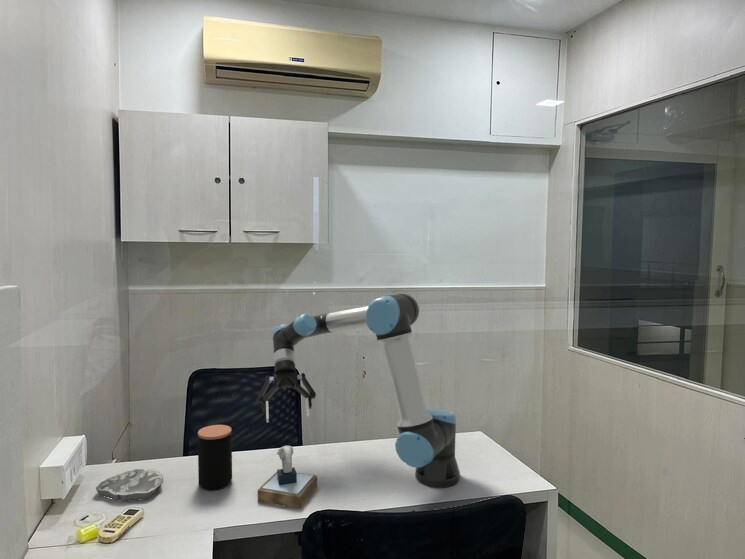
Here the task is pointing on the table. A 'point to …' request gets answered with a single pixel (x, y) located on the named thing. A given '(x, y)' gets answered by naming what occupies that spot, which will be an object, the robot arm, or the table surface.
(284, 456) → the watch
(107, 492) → the brain slice
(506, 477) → the table surface
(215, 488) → the coffee jar
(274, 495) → the walnut plinth
